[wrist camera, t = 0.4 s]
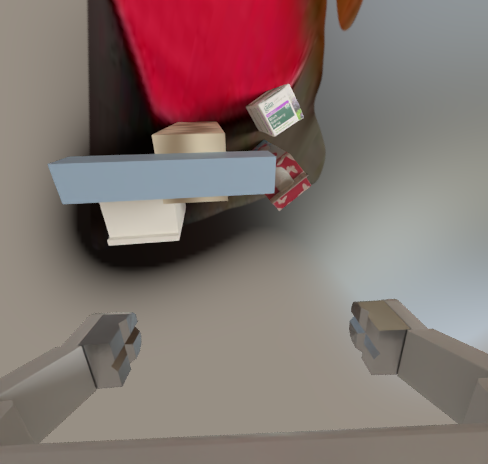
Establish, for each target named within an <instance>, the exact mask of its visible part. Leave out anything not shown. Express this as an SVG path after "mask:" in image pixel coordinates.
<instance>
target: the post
mask: <svg viewBox="0 0 488 464" xmlns="http://www.w3.org/2000/svg"><path fill="white" fill-rule="evenodd" d="M152 140H153V146H154V152H155V154H170V153H203V152H226V145H225V133H224V131H223V130H222V128H221V127H220V126H219V124H218V123H217V122H177V123H175V124H173V125H171V126H169V127H167V128H165V129H163V130H161V131H159V132H157V133H154V134H152ZM210 201H228V196H213V197H194V198H175V199H163V204H173V203H192V202H210Z"/></svg>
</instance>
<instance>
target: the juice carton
mask: <svg viewBox="0 0 488 464" xmlns="http://www.w3.org/2000/svg"><path fill="white" fill-rule="evenodd" d="M251 151H269V152H271V153H272V154H273V155H275V156H276V171H275V190H274V193H271V194H265V195H266V196H267V198H268V199H269V200H270V201H271V203H272V204H274V205H275V206H276V208H277V209H278V210H279V211H280V210H281V209H282V208H283V207H285V206H286V205H287V204H289V203H290V202H291V201H293V200H294V199H295V198H296V197H298V196H299V195H300V194H301V193H302V192H304V191H305V190H306V189H308V188H309V187H310V186H311V184H310V182H309V181H308V179H307V178H306V177H307V176H309V175H308V174H306V173H305V172H304V171H303V170H302V169H301V167H300V166H299V165H298V164H297V162H296V161H295V160H294V159H293V157H292V156H291V155H290V154H289V153H287V152H285V151H284V150H282V149H280V148H278V147H276V146H275V145H273V144H271V143H269V142H267V141H266V140H263V141H262V142H261V143H259V144H258V145H257V146H256V147H255V148H254V149H253V150H251Z"/></svg>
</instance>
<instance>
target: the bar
mask: <svg viewBox="0 0 488 464" xmlns="http://www.w3.org/2000/svg"><path fill="white" fill-rule="evenodd" d="M48 167H49V169H50V172H51V175H52V177H53V180H54V183H55V186H56V188H57V191H58V193H59V196H60V199H61V201H62V204H79V203H98V202H117V201H137V200H156V199H175V198H194V197H213V196H232V195H252V194H271V193H274V190H275V171H276V156H275V155H273V154H272V153H271V152H269V151H235V152H203V153H170V154H137V155H105V156H73V157H66V158H64V159H61V160H58V161H55V162H52V163H49V164H48Z"/></svg>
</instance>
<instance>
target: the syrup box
mask: <svg viewBox="0 0 488 464" xmlns="http://www.w3.org/2000/svg"><path fill="white" fill-rule="evenodd" d="M246 109H247V111H248V112H249V114H250V116H251V118H252V120H253V121H254V123H255V125H256V127H257V129H258V130H259V131H261V132H264V133H266V134H269V135H271V136H274V137H275V136H276V135H278V134H279V133H281V132H282V131H284V130H285V129H287V128H288V127H290V126H291V125H293V124H294V123H296V122H297V121H299V120H300V119H302V118H304V116H303V114H302V111H301V109H300V107H299V104H298V102H297V100H296V98H295V95H294V93H293V91H292V89H291V87H290V85H289V84H286V85H283V86H280V87H277V88H274V89H271V90H269V91H267V92H265V93H264V94H262V95H261V96H260V97H258V98H257V99H255V100H254V101H253V102H251V103H250V104H249V105H247V106H246Z"/></svg>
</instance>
